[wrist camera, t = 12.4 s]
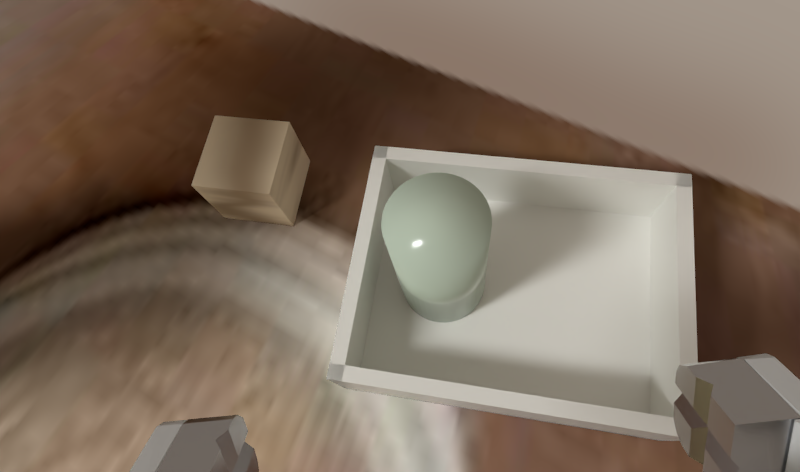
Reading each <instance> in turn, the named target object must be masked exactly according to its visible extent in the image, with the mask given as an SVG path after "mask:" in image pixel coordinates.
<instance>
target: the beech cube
mask: <svg viewBox="0 0 800 472" xmlns="http://www.w3.org/2000/svg"><path fill="white" fill-rule="evenodd" d="M309 164H310V160H309V158H308V156H307V154H306V152H305V150H304V148H303V146H302V145H301V143H300V141H299V139H298V137H297V135H296V133H295V131H294V129H293V128H292V126H291V124H290V122H285V121H274V120H262V119H251V118H239V117H228V116H216V115H215V117H214V120H213V123H212V126H211V129H210V131H209V134H208V137H207V140H206V143H205V146H204V149H203V152H202V155H201V158H200V161H199V164H198V167H197V170H196V173H195V176H194V178H193V181H192V184H191V186H192V187H193V188H194V189H195V190H196V191H197V192H198V193H200V194H201V195H202V196H203V197H204V198H205V199H206V200H207V201H208V202H209V203H210V204H211V205H212V206H213V207H214V208H215V209H216V210H217V211H218V212H219V213H220V214H221V215H222V216H223V217H224V218H230V219H239V220H247V221H255V222H264V223H272V224H280V225H289V226H294V223H295V219H296V215H297V211H298V207H299V203H300V200H301V196H302V192H303V188H304V184H305V180H306V176H307V172H308V168H309Z"/></svg>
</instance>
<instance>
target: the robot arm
mask: <svg viewBox="0 0 800 472" xmlns="http://www.w3.org/2000/svg"><path fill="white" fill-rule="evenodd" d="M675 384H676V385H677V386H678V388H679V389H680V391H681V392H682V394H681V395H680V396H679V397H678V399H677V400H676V401H675V402H674V412H673V418H674V423H675V428H676V432H677V435H678V437H679V440H680V442H681V444H682V446H683V448H684V449H685V451H686V452H687V454H688V456H689V457H691V458H693V459H694V460H696V461H698V462H699V463H701V464H703V472H800V380H799V379H798V378H797V377H796V376H795V375H794V374H793V373H792V372H790V371H789V370H788V369H787V368H786V367H785V366H784V365H783V364H782V363H781V362H780V361H778V360H777V359H776V358H775V357H774V356H771V355H769V354H766V353H765V354H758V355H751V356H743V357H737V358H735V359H725V360H717V361H708V362H700V363H691V364H683V365H679V367H678V369H677V371H676V379H675ZM247 432H248V430H247V427H246V424H245V422H244V419H243V417H241V416H239V415H232V416H220V417H209V418H198V419H189V420H181V421H170V422H163V423H162V424H160V425H158V426H157V427H156V428H155V430H154V432H153V433H152V435H151V437H150V438H149V440H148V442H147V443H146V445H145V447H144V448H143V450H142V452H141V453H140V455H139V457H138V458H137V460H136V462H135V463H134V465H133V467H132V468H131V470H130V472H259V469H258V462H257V457H256V454H255V451H254V448H252V447H251V446H250V445H248V444H247V443H246V442H244V441H245V438H246V435H247Z"/></svg>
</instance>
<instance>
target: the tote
mask: <svg viewBox="0 0 800 472" xmlns="http://www.w3.org/2000/svg"><path fill="white" fill-rule="evenodd" d="M427 173H449V174H453V175H456V176H459V177H462V178H464V179H466V180H468V181H469V182H471V183H472V184H473V185H475V186H476V187H477V188H478V189H479V190H480V191H481V192H482V194H483V195H484V197H485V198H486V200H487V202H488V204H489V207H490V210H491V215H492V229H491V237H490V245H489V253H488V261H487V269H486V277H485V286H484V292H483V296H482V298H481V300H480V302H479V304H478V305H477V306H476V308H475V309H474V310H473V311H472V312H471V313H470V314H468V315H467V316H465V317H463V318H462V319H459V320H456V321H453V322H446V323H442V322H434V321H430V320H427V319H425V318H423V317H421V316H420V315H418V314H417V313H416V312H415V311H414V310H413V309H412V308H411V307H410V306H409V304H408V303H407V301H406V299H405V296H404V294H403V291H402V288H401V285H400V283H399V280H398V277H397V274H396V272H395V269H394V266H393V263H392V260H391V258H390V255H389V252H388V249H387V247H386V244H385V241H384V238H383V235H382V229H381V220H382V214H383V210H384V207H385V205H386V203H387V201H388V199H389V198H390V196H391V195H392V193H393V192H394V191H395V190H396V189H397V188H398V187H399V186H401V185H402V184H403V183H405V182H406V181H408V180H410V179H412V178H414V177H416V176H419V175H423V174H427ZM691 363H698V353H697V322H696V291H695V259H694V228H693V197H692V174H684V173H673V172H662V171H651V170H640V169H629V168H618V167H607V166H596V165H585V164H574V163H563V162H552V161H541V160H530V159H519V158H507V157H496V156H485V155H474V154H463V153H452V152H441V151H430V150H419V149H408V148H397V147H386V146H375V148H374V153H373V158H372V162H371V167H370V172H369V177H368V182H367V186H366V191H365V196H364V201H363V205H362V210H361V215H360V220H359V225H358V229H357V234H356V239H355V244H354V249H353V253H352V258H351V263H350V268H349V272H348V277H347V282H346V287H345V292H344V296H343V301H342V306H341V311H340V315H339V320H338V325H337V330H336V335H335V339H334V344H333V349H332V354H331V359H330V363H329V368H328V373H327V378H326V379H328V380H330V381H332V382H334V383H336V384H338V385H340V386H342V387H344V388H347V389H353V390H359V391H365V392H371V393H377V394H383V395H389V396H395V397H401V398H407V399H413V400H419V401H425V402H431V403H437V404H443V405H449V406H455V407H461V408H467V409H473V410H479V411H485V412H491V413H497V414H503V415H509V416H515V417H521V418H527V419H533V420H539V421H545V422H551V423H557V424H563V425H569V426H575V427H581V428H587V429H593V430H599V431H605V432H611V433H617V434H623V435H629V436H635V437H641V438H647V439H653V440H659V441H680V440H679V437H678V435H677V432H676V428H675V423H674V418H673V412H674V402H675V401H676V400H677V399H678V397H679V396H680V395H681V394H682V392H681V391H680V389H679V388H678V386H677V385H676V384H675V379H676V371H677V369H678V367H679V365H683V364H691Z"/></svg>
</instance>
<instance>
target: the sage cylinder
mask: <svg viewBox="0 0 800 472" xmlns="http://www.w3.org/2000/svg"><path fill="white" fill-rule="evenodd" d="M381 229H382V235H383V238H384V241H385V244H386V247H387V249H388V252H389V255H390V258H391V260H392V263H393V266H394V269H395V272H396V274H397V277H398V280H399V283H400V285H401V288H402V291H403V294H404V296H405V299H406V301H407V303H408V304H409V306H410V307H411V308H412V309H413V310H414V311H415V312H416V313H417V314H418V315H420V316H421V317H423V318H425V319H427V320H430V321H434V322H442V323H446V322H453V321H456V320H459V319H462V318H463V317H465V316H467V315H468V314H470V313H471V312H472V311H473V310H474V309H475V308H476V306H477V305H478V304H479V302H480V300H481V298H482V296H483V292H484V286H485V277H486V269H487V261H488V253H489V245H490V237H491V229H492V215H491V210H490V207H489V204H488V202H487V200H486V198H485V197H484V195H483V194H482V192H481V191H480V190H479V189H478V188H477V187H476V186H475V185H473V184H472V183H471V182H469V181H468V180H466V179H464V178H462V177H459V176H456V175H453V174H449V173H427V174H423V175H419V176H416V177H414V178H412V179H410V180H408V181H406V182H405V183H403V184H402V185H401V186H399V187H398V188H397V189H396V190H395V191H394V192H393V193H392V195H391V196H390V198H389V199H388V201H387V203H386V205H385V207H384V210H383V214H382V220H381Z"/></svg>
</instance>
